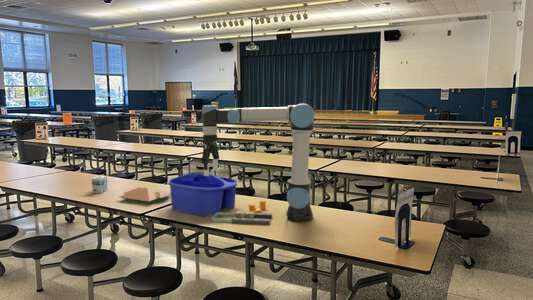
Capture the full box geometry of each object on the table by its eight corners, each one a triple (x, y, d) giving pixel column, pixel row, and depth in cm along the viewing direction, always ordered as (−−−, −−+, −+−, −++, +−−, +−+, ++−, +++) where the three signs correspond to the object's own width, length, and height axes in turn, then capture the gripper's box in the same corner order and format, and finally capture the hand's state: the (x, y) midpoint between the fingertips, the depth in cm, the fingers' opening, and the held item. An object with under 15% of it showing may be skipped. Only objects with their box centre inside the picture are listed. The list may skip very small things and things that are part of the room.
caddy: (192, 197, 256) (191, 163, 253) (247, 206, 234) (247, 170, 231) (158, 209, 229) (156, 171, 226) (216, 221, 207) (215, 179, 204)
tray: (236, 217, 212) (236, 212, 212) (231, 224, 201) (231, 219, 200) (216, 216, 214) (216, 211, 213) (210, 223, 202) (210, 218, 202)
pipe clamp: (254, 217, 214) (254, 206, 213) (249, 215, 217) (249, 204, 216) (267, 212, 224) (267, 201, 223) (262, 210, 226) (262, 200, 225)
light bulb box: (101, 193, 266) (100, 178, 264) (92, 193, 266) (91, 178, 264) (108, 189, 276) (107, 175, 275) (99, 189, 276) (98, 175, 275)
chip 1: (245, 218, 207) (245, 211, 206) (243, 220, 203) (243, 213, 202) (238, 217, 207) (238, 210, 207) (236, 220, 204) (236, 213, 203)
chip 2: (254, 218, 206) (254, 211, 206) (252, 221, 202) (252, 213, 202) (247, 218, 207) (246, 211, 206) (245, 220, 203) (245, 213, 202)
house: (152, 206, 235) (152, 194, 234) (113, 200, 248) (113, 188, 247) (175, 197, 255) (175, 186, 254) (138, 192, 269) (138, 181, 268)
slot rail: (272, 219, 210) (272, 213, 209) (269, 227, 197) (269, 220, 196) (237, 217, 212) (237, 211, 212) (232, 225, 200) (232, 219, 199)
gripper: (211, 131, 212) (212, 168, 215) (194, 136, 188) (195, 177, 191) (224, 132, 211) (225, 169, 214) (208, 136, 187) (209, 178, 190)
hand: (211, 173), depth 202 cm, fingers open, 13 cm apart
